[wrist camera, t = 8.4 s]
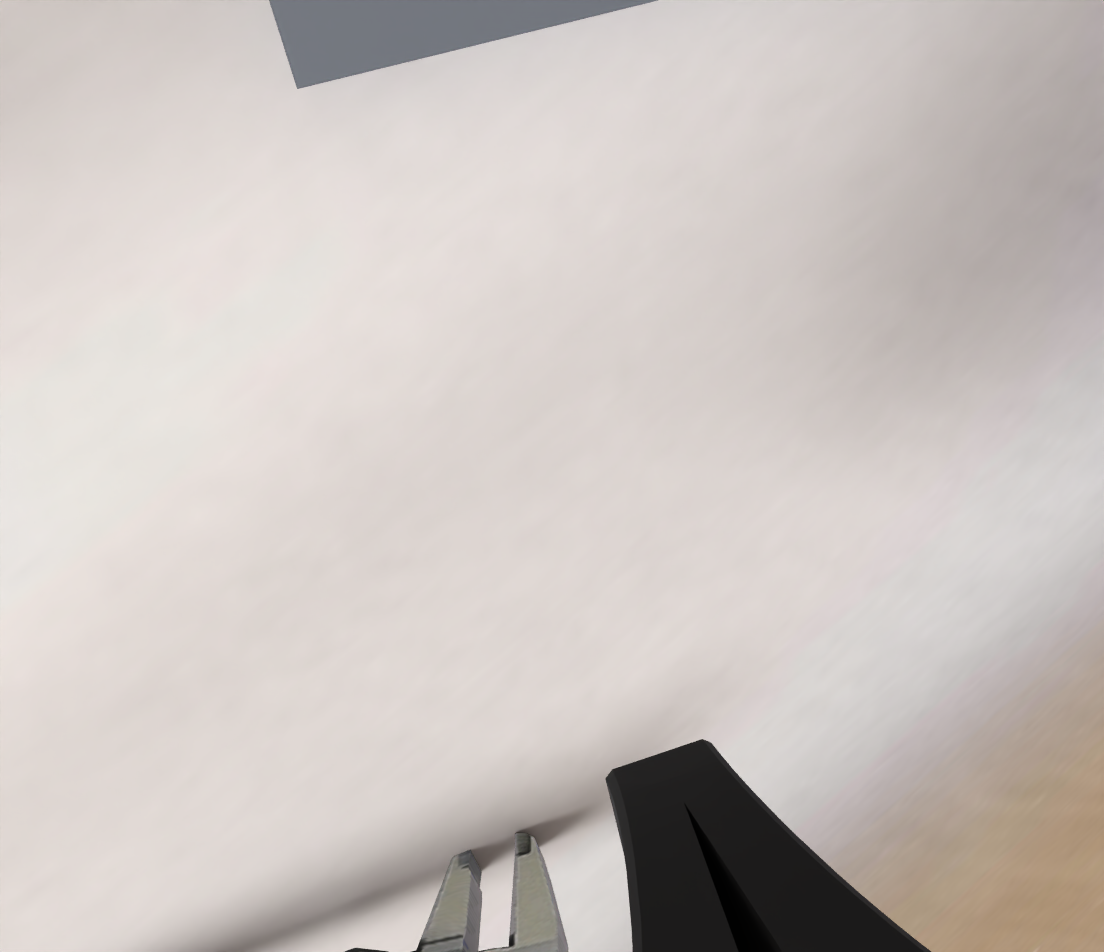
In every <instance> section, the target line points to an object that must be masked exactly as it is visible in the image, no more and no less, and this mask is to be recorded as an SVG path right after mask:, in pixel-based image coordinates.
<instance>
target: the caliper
mask: <svg viewBox="0 0 1104 952" xmlns="http://www.w3.org/2000/svg"><path fill="white" fill-rule="evenodd" d="M480 880H481V870H480V868H479V866H478V864H477V862H476V860H475V858H474V856H473V854H472V852H471V850H469V851H466V852H464V853H461V854H459V855H456V856H454V857H453V858H452V860H451V862H450V865H449V867H448V870H447V873H446V875H445V878H444V880H443V883H442V885H441V888H440V891H439V893H438V896H437V898H436V901H435V904H434V906H433V909H432V911H431V914H430V917H429V919H428V922H427V924H426V927H425V929H424V932H423V935H422V937H421V940H420V942H419V945H418V948H417V950H416V951H412V952H568V944H567V940H566V936H565V933H564V929H563V925H562V921H561V918H560V914H559V910H558V906H557V903H556V899H555V895H554V891H553V887H552V884H551V880H550V877H549V874H548V871H547V867H546V864H545V861H544V858H543V856H542V854H541V851H540V849H539V847H538V845H537V842H536V840H535V838H534V837H533V836H531V835H529V834H527V833H515V861H514V876H513V891H512V906H511V921H510V936H509V947H502V948H493V949H487V950H483V951H478V946H479V933H480V920H481V907H482V892H481V890H480ZM345 952H388V951H379V950H370V949H362V948H353V949H350V950H347V951H345Z"/></svg>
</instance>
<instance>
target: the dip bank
mask: <svg viewBox="0 0 1104 952" xmlns="http://www.w3.org/2000/svg"><path fill="white" fill-rule="evenodd" d="M269 1H270V5H271V8H272V11H273V14H274V17H275V20H276V23H277V27H278V30H279V33H280V36H281V39H282V42H283V45H284V49H285V52H286V55H287V58H288V61H289V64H290V67H291V71H292V74H293V77H294V80H295V83H296V86H297V89H299V88H303V87H307V86H311V85H315V84H319V83H323V82H328V81H332V80H336V79H340V78H344V77H348V76H352V75H356V74H360V73H364V72H368V71H372V70H376V69H380V68H385V67H389V66H393V65H397V64H401V63H405V62H409V61H413V60H417V59H421V58H425V57H429V56H433V55H437V54H442V53H446V52H450V51H454V50H458V49H462V48H466V47H470V46H474V45H478V44H482V43H486V42H490V41H495V40H499V39H503V38H507V37H511V36H515V35H519V34H523V33H527V32H531V31H535V30H539V29H543V28H547V27H552V26H556V25H560V24H564V23H568V22H572V21H576V20H580V19H584V18H588V17H592V16H596V15H600V14H604V13H609V12H613V11H617V10H621V9H625V8H629V7H633V6H637V5H641V4H645V3H649V2H653V1H657V0H269Z"/></svg>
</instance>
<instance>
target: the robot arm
mask: <svg viewBox="0 0 1104 952" xmlns="http://www.w3.org/2000/svg"><path fill="white" fill-rule="evenodd" d="M606 783H607V787H608V791H609V795H610V799H611V803H612V807H613V811H614V815H615V819H616V823H617V827H618V831H619V835H620V839H621V843H622V848H623V852H624V856H625V863H626V870H627V880H628V891H629V903H630V914H631V926H632V943H633V952H931V951H930V950H928V949H927V948H926V947H924V946H923V945H922V944H921V943H919V942H918V941H917V940H915V939H914V938H913V937H912V936H910V935H909V934H908V933H907V932H905V931H904V930H903V929H902V928H901V927H899V926H898V925H897V924H896V923H894V922H893V921H892V920H891V919H890V918H888V917H887V916H886V915H885V914H884V913H882V912H881V911H880V910H879V909H878V908H876V907H875V906H874V905H873V904H872V903H871V902H869V901H868V900H867V899H866V898H865V897H863V896H862V895H861V894H860V893H859V892H858V891H856V890H855V889H854V888H853V887H852V886H851V885H850V884H848V883H847V882H846V881H845V880H844V879H843V878H842V877H841V876H839V875H838V874H837V873H836V872H835V871H834V870H833V869H832V868H831V867H830V866H829V865H827V864H826V863H825V862H824V861H823V860H822V859H821V858H820V857H819V856H818V855H817V854H816V853H815V852H814V851H812V850H811V849H810V848H809V847H808V846H807V845H806V844H805V843H804V842H803V841H802V840H801V839H800V838H799V837H797V836H796V835H795V834H794V833H793V832H792V831H791V830H790V829H789V828H788V827H787V826H786V825H785V824H784V823H783V822H782V821H781V820H780V819H779V818H778V817H777V816H776V815H775V814H774V813H773V812H772V811H771V810H770V809H769V808H768V807H767V805H766V804H765V803H764V802H763V801H762V800H761V799H760V798H759V797H758V796H757V795H756V794H755V793H754V792H753V791H752V790H751V789H750V788H749V786H748V785H747V784H746V783H745V782H744V781H743V780H742V779H741V778H740V777H739V775H738V774H737V773H736V772H735V771H734V770H733V769H732V767H731V766H730V765H729V764H728V763H727V762H726V760H725V759H724V758H723V757H722V756H721V754H720V753H719V752H718V751H717V750H716V748H715V747H714V746H713V744H712V743H710V742H708V741H706V740H703V739H701V740H699V741H696V742H693V743H690V744H687V745H684V746H681V747H678V748H675V749H672V750H669V751H666V752H663V753H660V754H657V755H654V756H651V757H648V758H645V759H642V760H639V761H636V762H633V763H630V764H627V765H624V766H621V767H618V768H615V769H613V770H612V771H611V772H610V773H609V775H608V776H607V777H606Z"/></svg>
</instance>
